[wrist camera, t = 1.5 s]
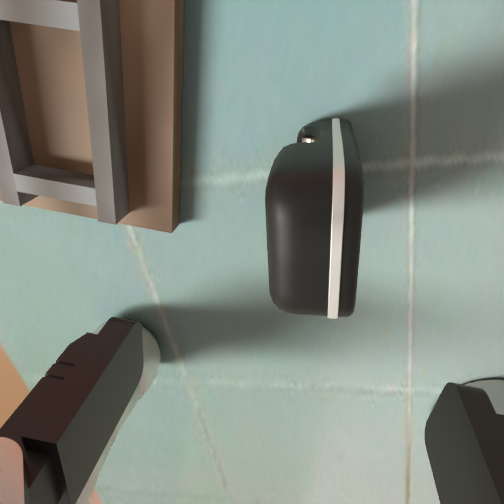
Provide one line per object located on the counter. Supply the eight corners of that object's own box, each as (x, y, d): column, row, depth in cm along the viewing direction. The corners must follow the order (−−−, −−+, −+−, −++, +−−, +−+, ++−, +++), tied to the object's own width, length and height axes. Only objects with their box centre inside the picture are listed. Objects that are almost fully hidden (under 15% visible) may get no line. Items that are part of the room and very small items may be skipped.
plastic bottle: (134, 298, 32) (-88, 597, 15) (183, 353, 34) (37, 669, 17) (85, 325, 35) (-152, 604, 18) (133, 374, 37) (-36, 666, 20)
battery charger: (285, 116, 23) (253, 175, 13) (351, 113, 22) (367, 174, 13) (288, 222, 26) (262, 332, 17) (344, 223, 26) (353, 338, 16)
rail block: (184, -28, 20) (159, -39, 17) (179, 224, 28) (161, 246, 25) (-54, -58, 22) (-115, -73, 19) (3, 190, 29) (-35, 208, 26)
